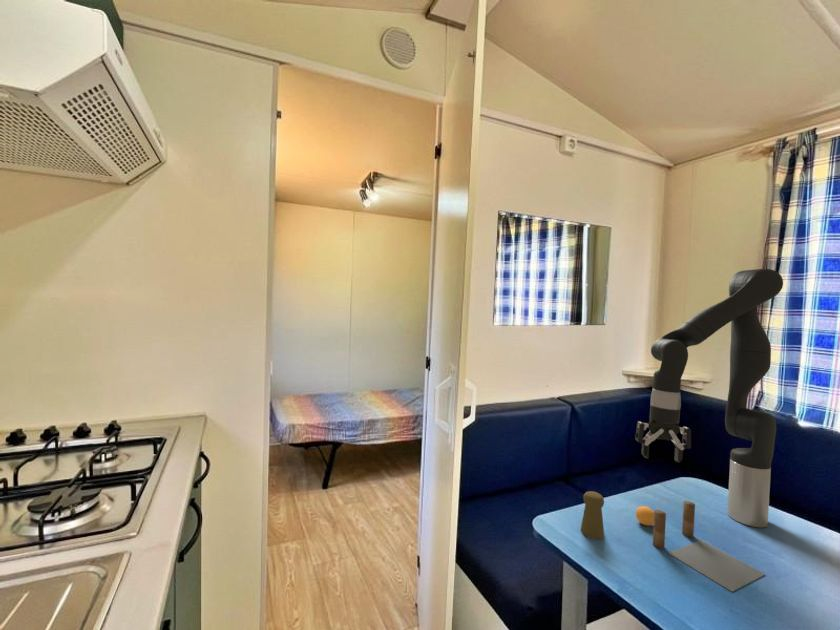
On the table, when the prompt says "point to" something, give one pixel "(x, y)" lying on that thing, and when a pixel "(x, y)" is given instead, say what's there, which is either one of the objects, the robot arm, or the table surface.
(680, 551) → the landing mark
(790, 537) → the table surface
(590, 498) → the brown pawn
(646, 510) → the ball
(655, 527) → the post
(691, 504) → the post
